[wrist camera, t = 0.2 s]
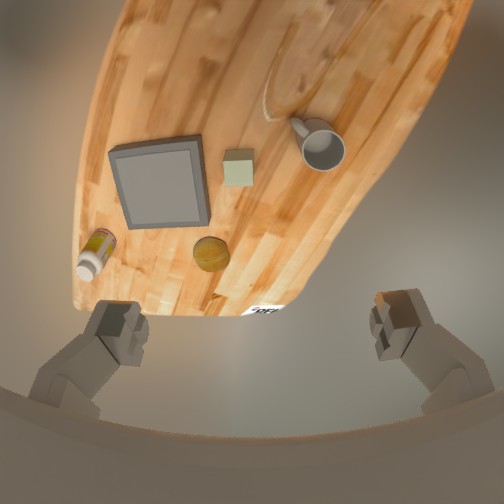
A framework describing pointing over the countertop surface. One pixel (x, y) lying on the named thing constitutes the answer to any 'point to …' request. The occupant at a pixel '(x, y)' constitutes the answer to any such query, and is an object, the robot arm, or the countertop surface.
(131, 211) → the tray
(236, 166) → the sage block
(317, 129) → the cup
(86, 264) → the supplement bottle
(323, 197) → the countertop surface
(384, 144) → the countertop surface
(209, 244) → the bread roll
